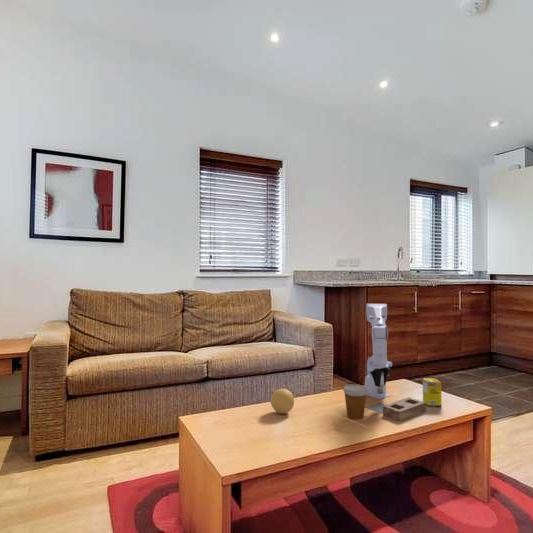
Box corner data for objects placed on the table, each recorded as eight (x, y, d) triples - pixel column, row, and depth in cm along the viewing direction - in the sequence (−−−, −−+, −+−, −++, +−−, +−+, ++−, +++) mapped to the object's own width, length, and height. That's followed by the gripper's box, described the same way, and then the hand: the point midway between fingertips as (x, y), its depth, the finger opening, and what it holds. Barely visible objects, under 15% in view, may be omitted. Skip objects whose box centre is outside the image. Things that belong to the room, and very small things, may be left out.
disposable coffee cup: (370, 421, 147) (370, 391, 148) (346, 421, 147) (346, 391, 148) (363, 412, 157) (363, 383, 157) (341, 412, 157) (341, 383, 157)
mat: (365, 408, 162) (365, 407, 162) (379, 403, 168) (379, 402, 168) (382, 414, 155) (382, 413, 155) (397, 409, 161) (397, 408, 161)
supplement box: (441, 407, 163) (441, 382, 163) (428, 407, 163) (427, 382, 163) (436, 402, 169) (435, 378, 169) (422, 402, 169) (422, 378, 169)
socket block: (383, 415, 153) (383, 406, 153) (408, 406, 164) (408, 397, 164) (400, 422, 147) (400, 411, 147) (425, 411, 157) (425, 402, 157)
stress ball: (290, 420, 151) (303, 400, 157) (275, 404, 149) (288, 384, 154) (276, 416, 160) (289, 397, 165) (262, 401, 157) (275, 382, 162)
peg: (375, 392, 162) (375, 371, 162) (379, 391, 164) (379, 370, 164) (380, 394, 159) (380, 373, 160) (385, 392, 161) (385, 371, 161)
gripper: (376, 357, 154) (377, 390, 154) (398, 353, 163) (398, 384, 163) (363, 354, 160) (363, 386, 160) (384, 350, 169) (384, 380, 168)
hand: (380, 385), depth 162 cm, fingers closed on peg, 3 cm apart
